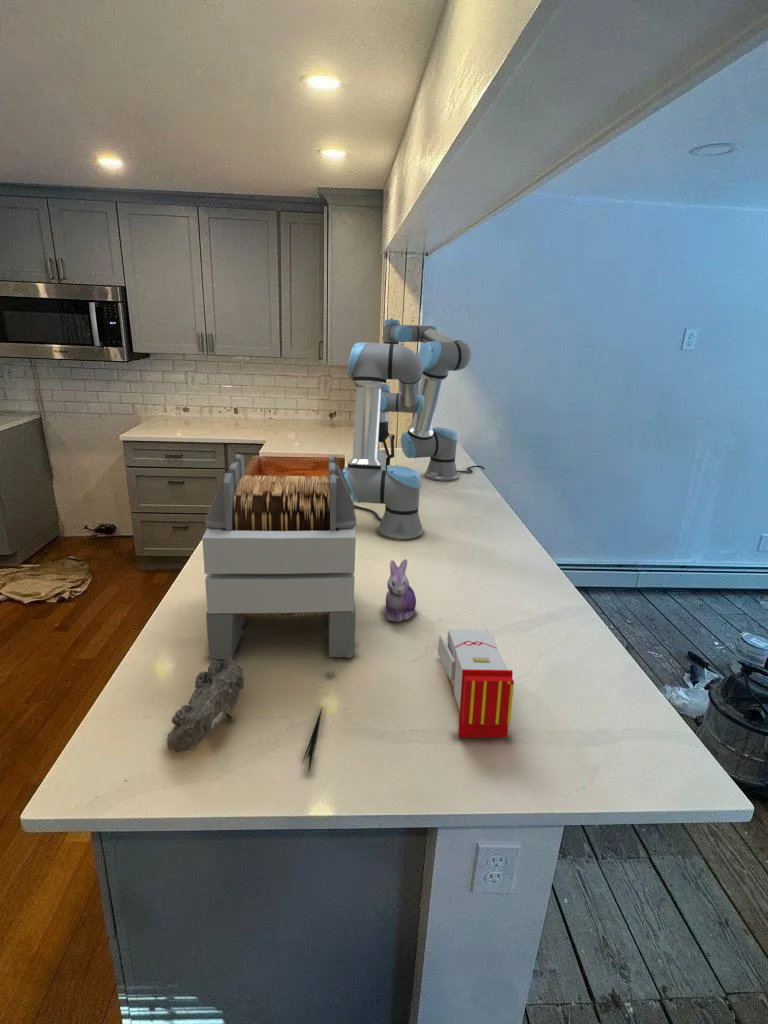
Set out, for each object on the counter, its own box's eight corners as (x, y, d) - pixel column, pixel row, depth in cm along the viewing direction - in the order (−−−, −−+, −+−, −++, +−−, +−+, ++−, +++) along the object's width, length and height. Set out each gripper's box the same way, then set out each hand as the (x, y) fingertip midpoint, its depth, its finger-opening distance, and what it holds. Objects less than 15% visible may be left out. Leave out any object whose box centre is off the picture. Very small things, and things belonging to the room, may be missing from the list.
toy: (488, 613, 130) (523, 677, 101) (484, 667, 133) (517, 744, 104) (435, 612, 130) (455, 676, 101) (432, 666, 133) (451, 743, 103)
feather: (331, 679, 122) (336, 673, 122) (307, 777, 96) (313, 769, 95) (324, 675, 122) (329, 669, 121) (298, 772, 95) (304, 764, 95)
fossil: (192, 660, 117) (244, 628, 112) (224, 691, 120) (276, 661, 115) (142, 746, 98) (202, 712, 93) (182, 779, 101) (242, 748, 96)
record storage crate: (229, 589, 156) (221, 444, 142) (348, 588, 159) (351, 446, 146) (206, 662, 124) (193, 484, 110) (355, 658, 128) (360, 486, 114)
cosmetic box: (384, 488, 250) (387, 453, 244) (370, 487, 249) (372, 453, 244) (383, 482, 257) (385, 449, 252) (368, 482, 257) (370, 448, 252)
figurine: (392, 627, 141) (395, 572, 136) (374, 608, 149) (376, 556, 144) (425, 619, 145) (429, 566, 140) (405, 601, 154) (408, 550, 149)
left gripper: (401, 419, 248) (398, 470, 256) (356, 418, 246) (355, 469, 254) (403, 423, 241) (400, 475, 249) (357, 421, 239) (356, 474, 247)
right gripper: (414, 353, 282) (412, 396, 289) (364, 351, 279) (363, 394, 287) (416, 354, 275) (414, 398, 282) (365, 352, 272) (364, 397, 280)
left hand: (377, 472), depth 251 cm, fingers closed on cosmetic box, 6 cm apart
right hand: (388, 396), depth 284 cm, fingers open, 13 cm apart
